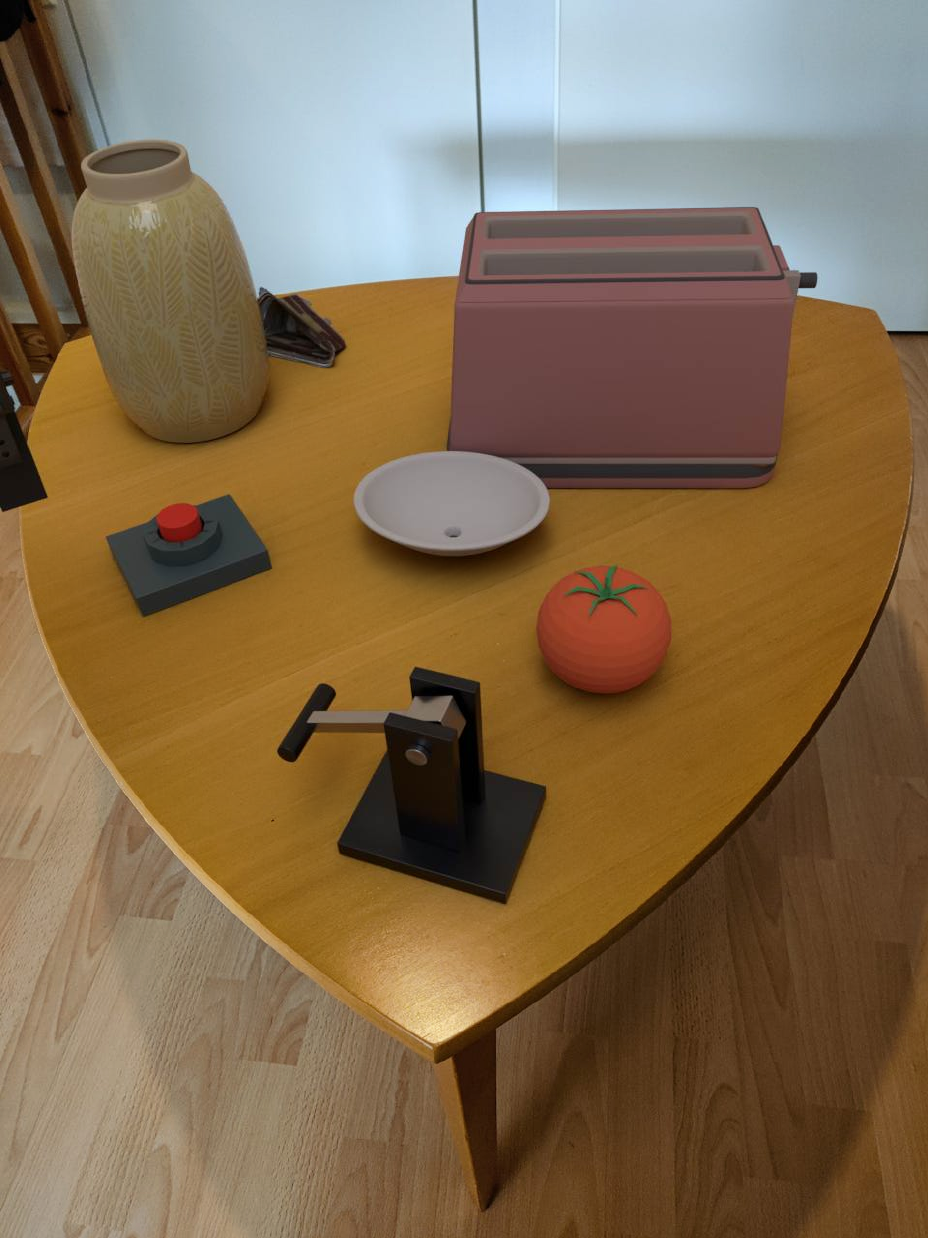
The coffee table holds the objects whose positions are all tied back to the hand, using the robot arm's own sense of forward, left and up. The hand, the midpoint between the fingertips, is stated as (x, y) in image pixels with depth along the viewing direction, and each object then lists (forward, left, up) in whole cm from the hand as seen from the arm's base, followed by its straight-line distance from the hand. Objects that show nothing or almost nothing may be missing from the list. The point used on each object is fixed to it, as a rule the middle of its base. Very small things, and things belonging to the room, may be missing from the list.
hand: (22, 498), depth 60 cm
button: (-7, +20, -19) cm, 29 cm away
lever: (+22, +1, -15) cm, 26 cm away
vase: (-20, +43, -23) cm, 53 cm away
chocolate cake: (-15, +60, -23) cm, 66 cm away
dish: (+15, +30, -23) cm, 41 cm away
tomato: (+32, +18, -23) cm, 44 cm away
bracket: (+26, +1, -23) cm, 34 cm away
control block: (-7, +20, -23) cm, 31 cm away
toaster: (+25, +51, -23) cm, 61 cm away
